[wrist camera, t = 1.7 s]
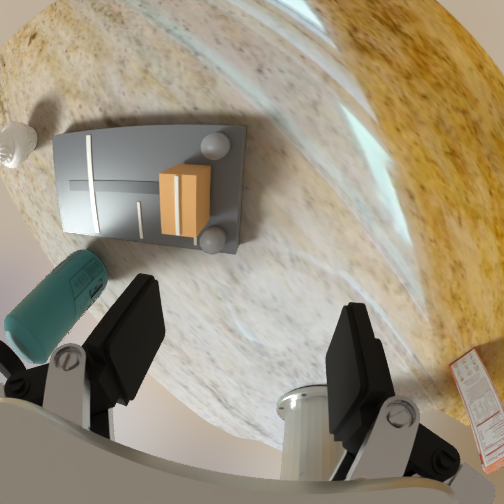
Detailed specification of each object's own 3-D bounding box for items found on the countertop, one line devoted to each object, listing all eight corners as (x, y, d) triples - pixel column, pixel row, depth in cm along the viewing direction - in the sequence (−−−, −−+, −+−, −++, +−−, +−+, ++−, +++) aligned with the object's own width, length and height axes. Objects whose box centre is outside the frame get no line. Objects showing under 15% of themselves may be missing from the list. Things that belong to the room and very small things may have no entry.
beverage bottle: (74, 238, 32) (-31, 333, 14) (112, 246, 31) (3, 361, 14) (82, 279, 35) (-2, 377, 17) (119, 289, 34) (35, 404, 17)
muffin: (49, 128, 25) (8, 139, 19) (37, 168, 27) (0, 185, 21) (26, 110, 24) (-12, 118, 17) (16, 149, 26) (-20, 162, 20)
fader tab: (210, 165, 23) (195, 175, 19) (209, 219, 25) (195, 238, 22) (178, 163, 23) (157, 174, 20) (178, 216, 26) (160, 234, 22)
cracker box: (486, 375, 35) (516, 459, 17) (462, 391, 38) (487, 477, 19) (476, 344, 32) (520, 448, 13) (447, 364, 34) (481, 472, 16)
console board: (246, 125, 23) (240, 127, 20) (238, 245, 29) (232, 262, 26) (63, 133, 25) (42, 138, 22) (73, 225, 31) (55, 237, 27)
